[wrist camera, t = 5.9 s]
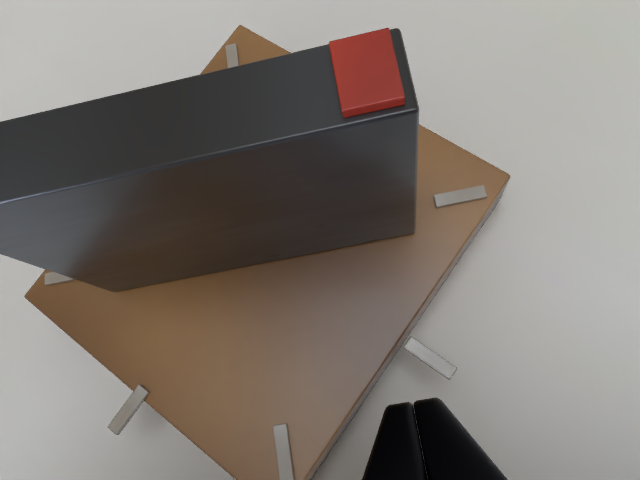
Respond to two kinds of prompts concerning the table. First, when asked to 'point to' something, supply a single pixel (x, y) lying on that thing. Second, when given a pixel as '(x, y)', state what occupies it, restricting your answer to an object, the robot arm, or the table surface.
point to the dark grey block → (217, 168)
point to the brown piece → (280, 321)
